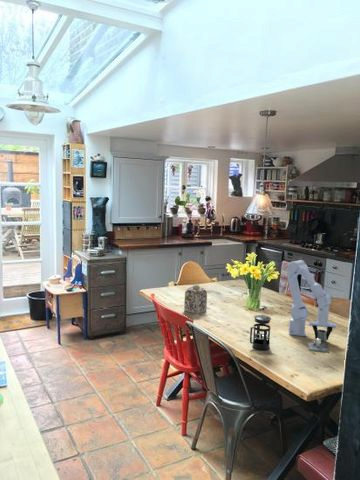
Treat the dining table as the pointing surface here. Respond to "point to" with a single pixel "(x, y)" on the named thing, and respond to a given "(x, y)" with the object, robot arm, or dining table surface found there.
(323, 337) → the collar
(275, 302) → the dining table surface
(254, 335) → the french press
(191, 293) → the decorative jar
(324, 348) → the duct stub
